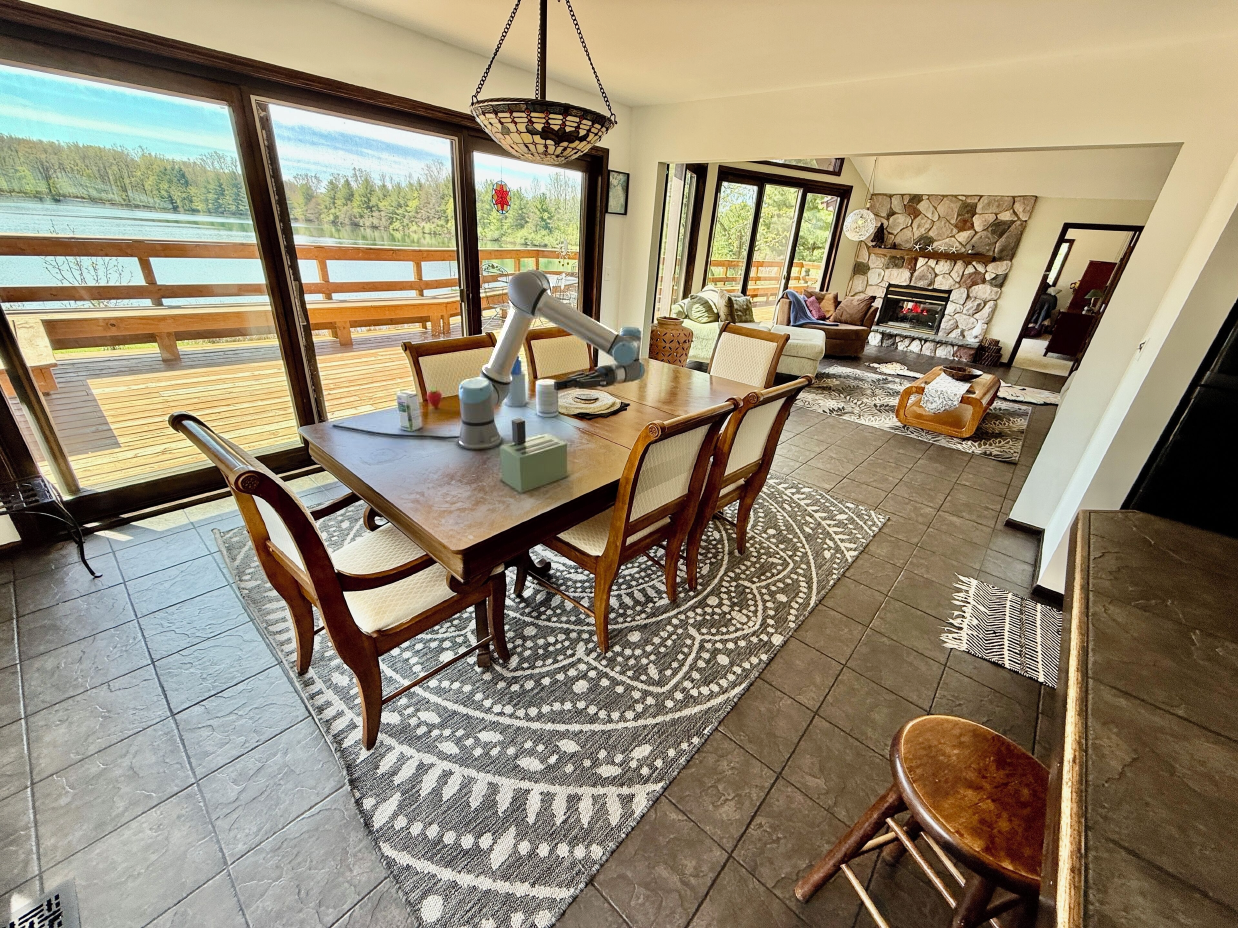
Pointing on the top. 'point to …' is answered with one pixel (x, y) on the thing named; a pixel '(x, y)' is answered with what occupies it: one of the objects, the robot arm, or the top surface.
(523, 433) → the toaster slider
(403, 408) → the syrup box
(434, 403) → the strawberry
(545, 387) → the supplement tub
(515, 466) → the toaster
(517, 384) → the spray bottle
